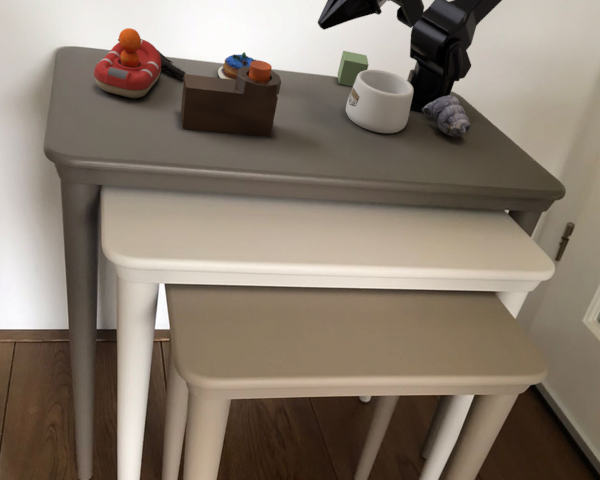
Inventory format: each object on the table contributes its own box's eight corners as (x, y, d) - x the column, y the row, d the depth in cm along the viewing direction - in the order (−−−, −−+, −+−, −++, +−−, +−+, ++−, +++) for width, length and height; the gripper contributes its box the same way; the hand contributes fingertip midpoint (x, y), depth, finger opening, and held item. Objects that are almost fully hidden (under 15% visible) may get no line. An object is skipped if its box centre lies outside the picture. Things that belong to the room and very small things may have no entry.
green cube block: (360, 78, 113) (366, 55, 110) (362, 88, 110) (368, 64, 107) (337, 74, 112) (343, 50, 110) (338, 83, 110) (344, 59, 107)
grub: (423, 119, 109) (454, 154, 103) (415, 95, 104) (446, 130, 98) (452, 101, 108) (484, 134, 102) (444, 76, 104) (478, 109, 98)
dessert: (220, 83, 99) (225, 42, 98) (213, 92, 105) (216, 53, 104) (272, 94, 101) (277, 53, 101) (261, 101, 107) (266, 63, 107)
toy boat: (165, 75, 99) (170, 22, 94) (143, 106, 91) (146, 51, 85) (115, 61, 99) (117, 8, 94) (87, 92, 90) (88, 35, 85)
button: (267, 74, 89) (270, 61, 88) (271, 83, 87) (273, 70, 86) (247, 72, 88) (249, 59, 87) (249, 81, 86) (251, 68, 85)
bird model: (110, 28, 99) (107, 46, 101) (182, 72, 97) (178, 89, 98) (124, 26, 101) (121, 43, 103) (195, 69, 99) (190, 85, 101)
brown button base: (267, 120, 95) (277, 68, 90) (274, 140, 91) (284, 87, 86) (180, 111, 92) (184, 57, 87) (182, 131, 88) (187, 76, 83)
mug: (414, 137, 101) (427, 99, 97) (355, 133, 97) (366, 94, 93) (387, 100, 109) (398, 64, 105) (332, 95, 106) (341, 58, 101)
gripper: (339, -141, 84) (253, -47, 86) (439, -95, 75) (339, 9, 76) (369, -68, 94) (290, 14, 95) (460, -19, 84) (372, 72, 86)
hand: (320, 26), depth 88 cm, fingers closed
